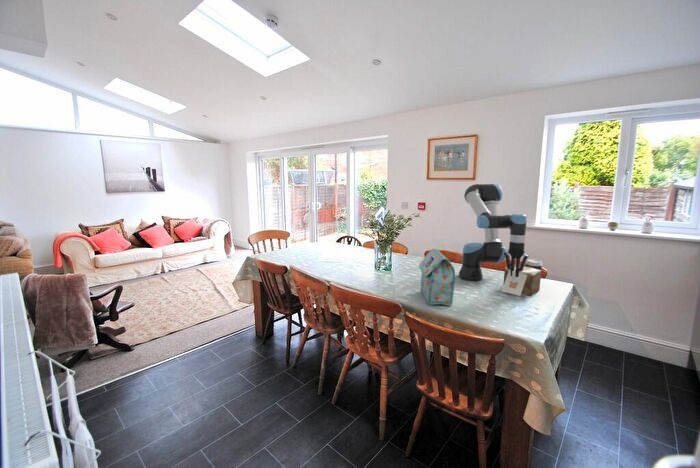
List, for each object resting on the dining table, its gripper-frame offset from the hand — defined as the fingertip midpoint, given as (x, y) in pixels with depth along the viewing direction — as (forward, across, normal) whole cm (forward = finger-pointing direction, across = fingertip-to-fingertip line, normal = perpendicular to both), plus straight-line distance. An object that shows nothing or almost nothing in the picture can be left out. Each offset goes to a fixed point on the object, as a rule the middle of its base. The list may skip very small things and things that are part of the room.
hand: (514, 281), depth 182 cm
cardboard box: (+8, 0, +12) cm, 14 cm away
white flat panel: (+1, 0, +2) cm, 2 cm away
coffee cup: (+9, 0, +29) cm, 30 cm away
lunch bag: (+7, -27, -38) cm, 47 cm away
